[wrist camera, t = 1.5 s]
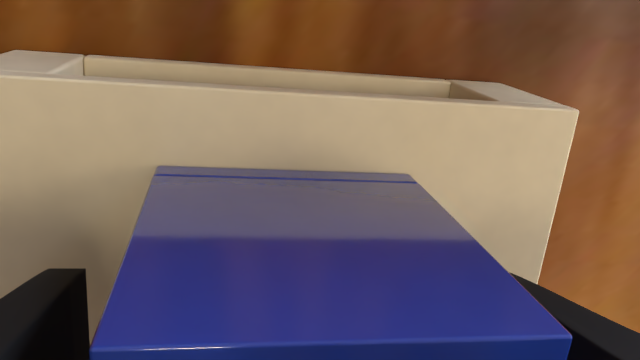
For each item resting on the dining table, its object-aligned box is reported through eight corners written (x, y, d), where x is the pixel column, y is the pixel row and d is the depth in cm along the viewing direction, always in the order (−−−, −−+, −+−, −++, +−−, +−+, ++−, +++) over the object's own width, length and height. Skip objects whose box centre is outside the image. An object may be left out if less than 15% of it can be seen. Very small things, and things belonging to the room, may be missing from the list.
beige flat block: (451, 337, 17) (505, 420, 14) (38, 348, 15) (-13, 450, 12) (500, 82, 15) (581, 110, 11) (11, 48, 12) (-64, 71, 9)
